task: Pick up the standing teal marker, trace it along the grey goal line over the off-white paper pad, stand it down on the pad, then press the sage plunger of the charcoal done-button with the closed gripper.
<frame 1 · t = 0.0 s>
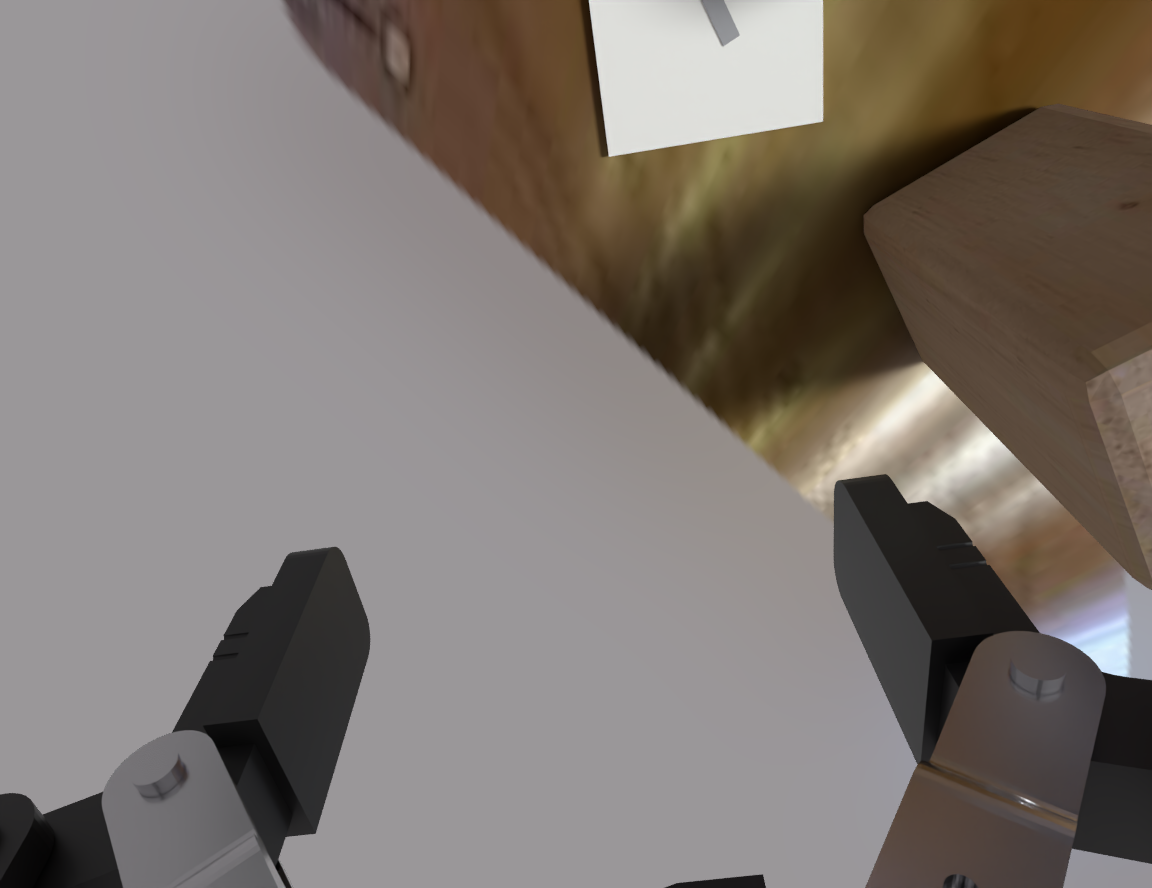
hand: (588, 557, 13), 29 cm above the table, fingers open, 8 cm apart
wooden block: (978, 239, 40), on the table
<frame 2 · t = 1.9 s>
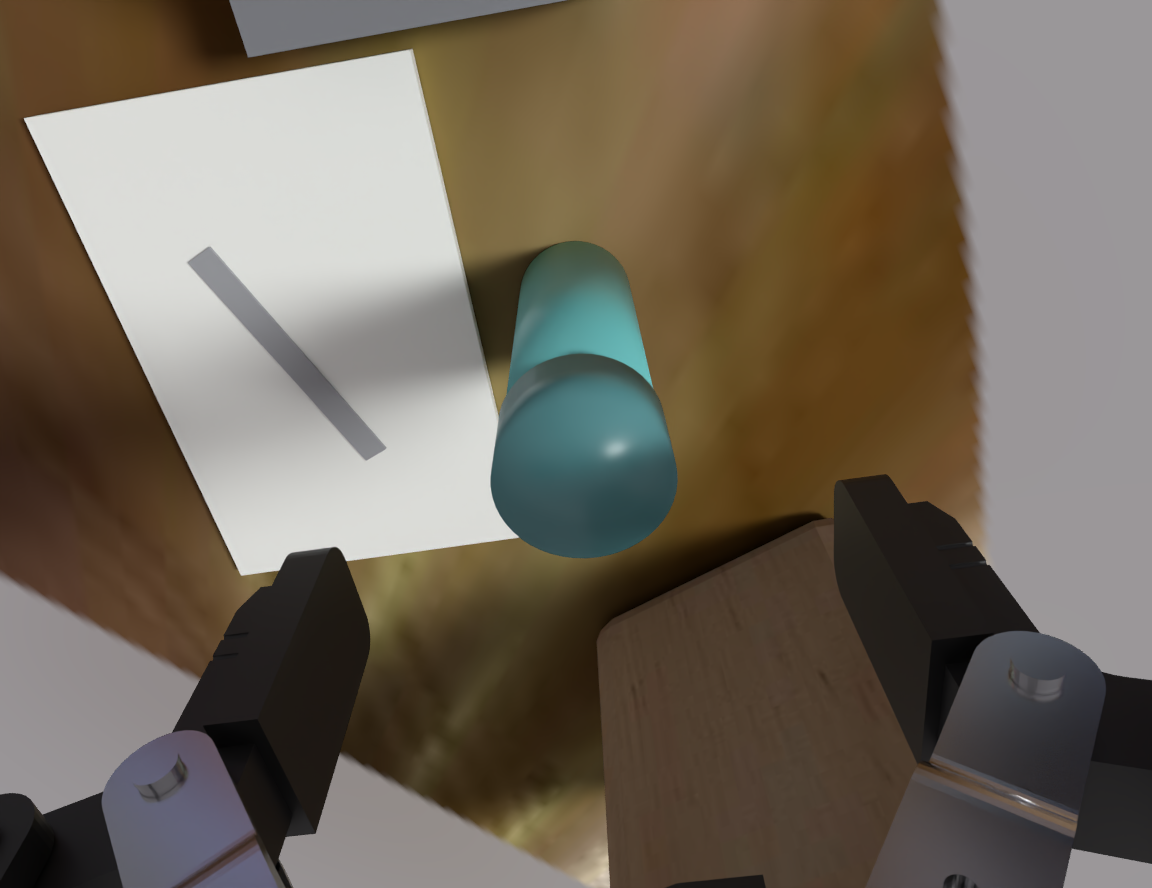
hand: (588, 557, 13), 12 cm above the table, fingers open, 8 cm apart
pad: (314, 352, 24), on the table
marker: (575, 295, 23), on the table
wooden block: (764, 643, 30), on the table
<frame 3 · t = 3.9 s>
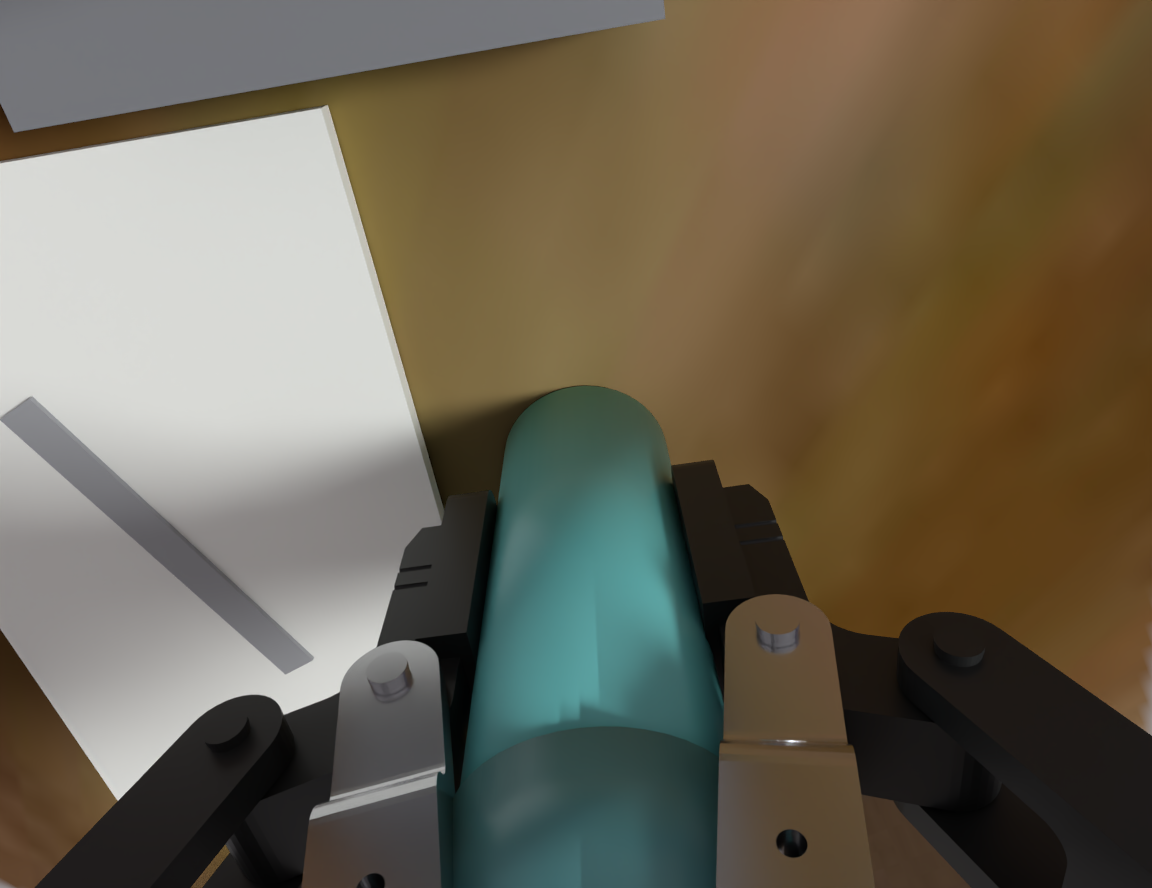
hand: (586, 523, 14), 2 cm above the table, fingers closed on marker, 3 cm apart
pad: (204, 533, 16), on the table
marker: (585, 459, 16), on the table, touching gripper
wooden block: (833, 874, 23), on the table
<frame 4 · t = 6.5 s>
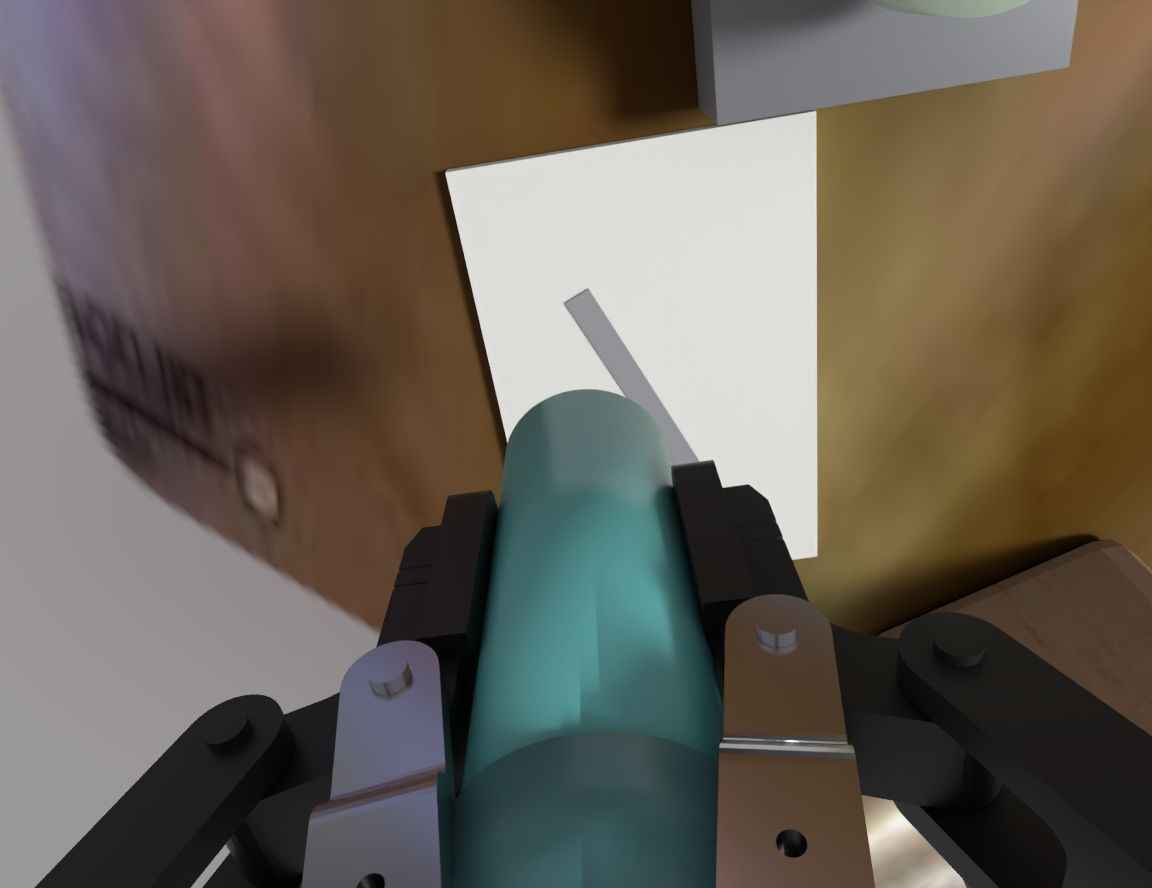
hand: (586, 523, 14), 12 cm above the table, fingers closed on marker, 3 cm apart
pad: (655, 385, 25), on the table
marker: (586, 462, 16), point 9 cm above the table, touching gripper
wooden block: (1013, 656, 32), on the table
when the fingers open (3 cm above the table, at t = 9.2 s): marker stays where it is, resting on pad.
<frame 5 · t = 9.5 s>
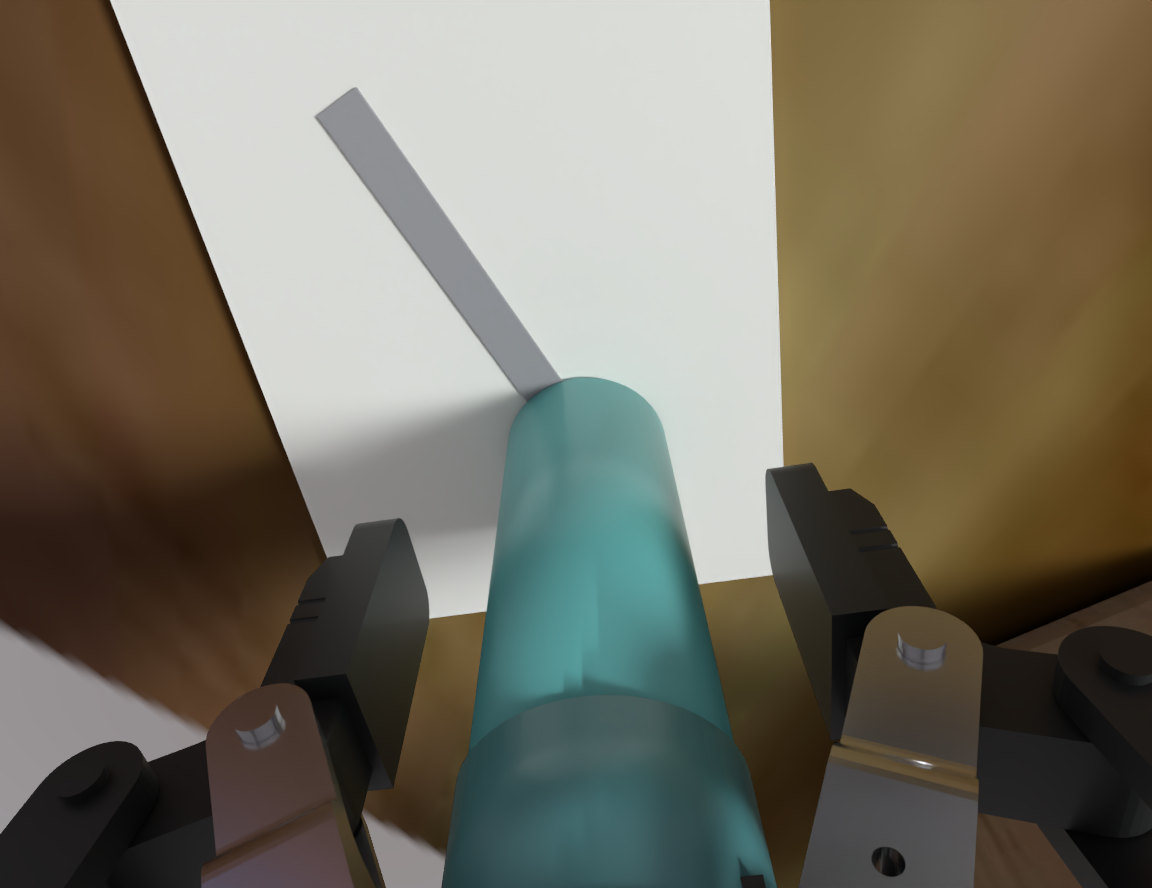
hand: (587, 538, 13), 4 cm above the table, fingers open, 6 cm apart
pad: (502, 280, 15), on the table
marker: (586, 449, 16), resting on pad
wooden block: (1087, 723, 21), on the table
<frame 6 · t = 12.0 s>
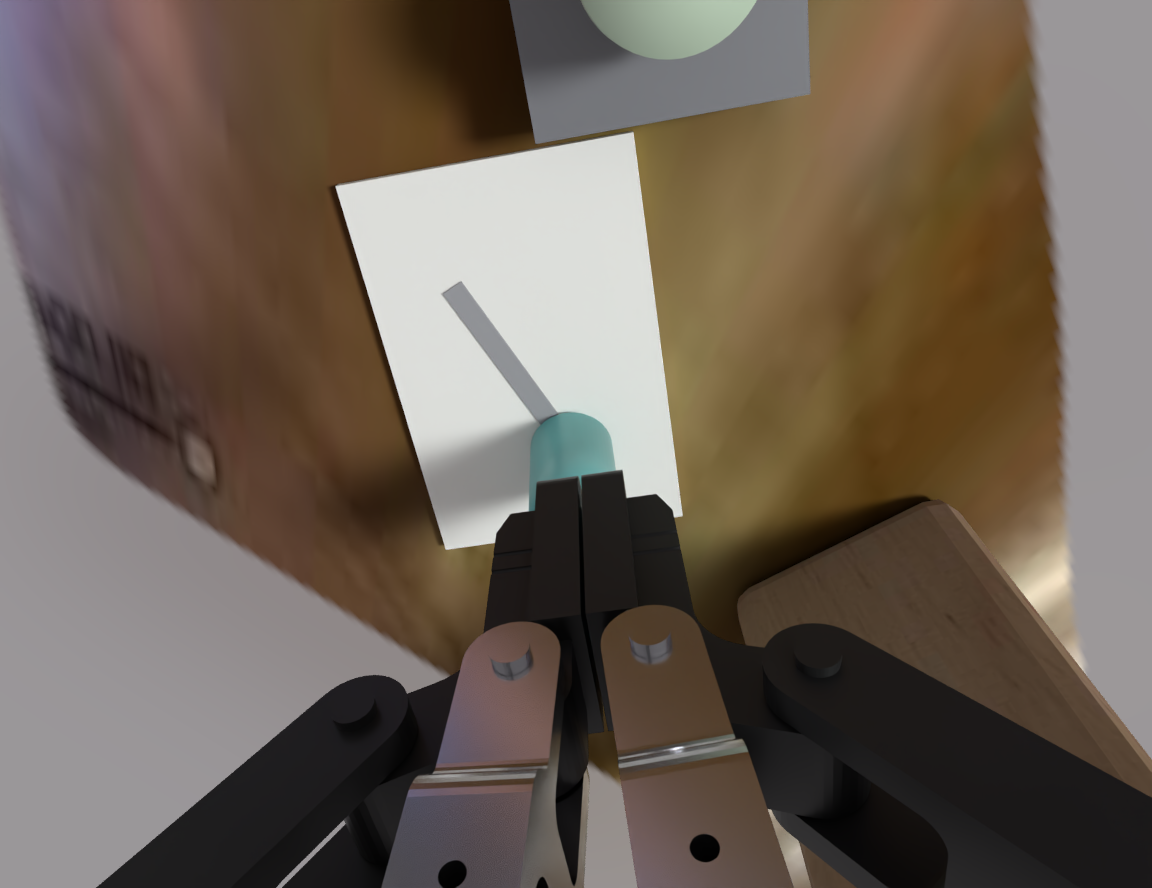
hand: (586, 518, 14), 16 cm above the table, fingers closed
pad: (527, 364, 30), on the table
marker: (571, 448, 31), resting on pad
wooden block: (873, 611, 36), on the table
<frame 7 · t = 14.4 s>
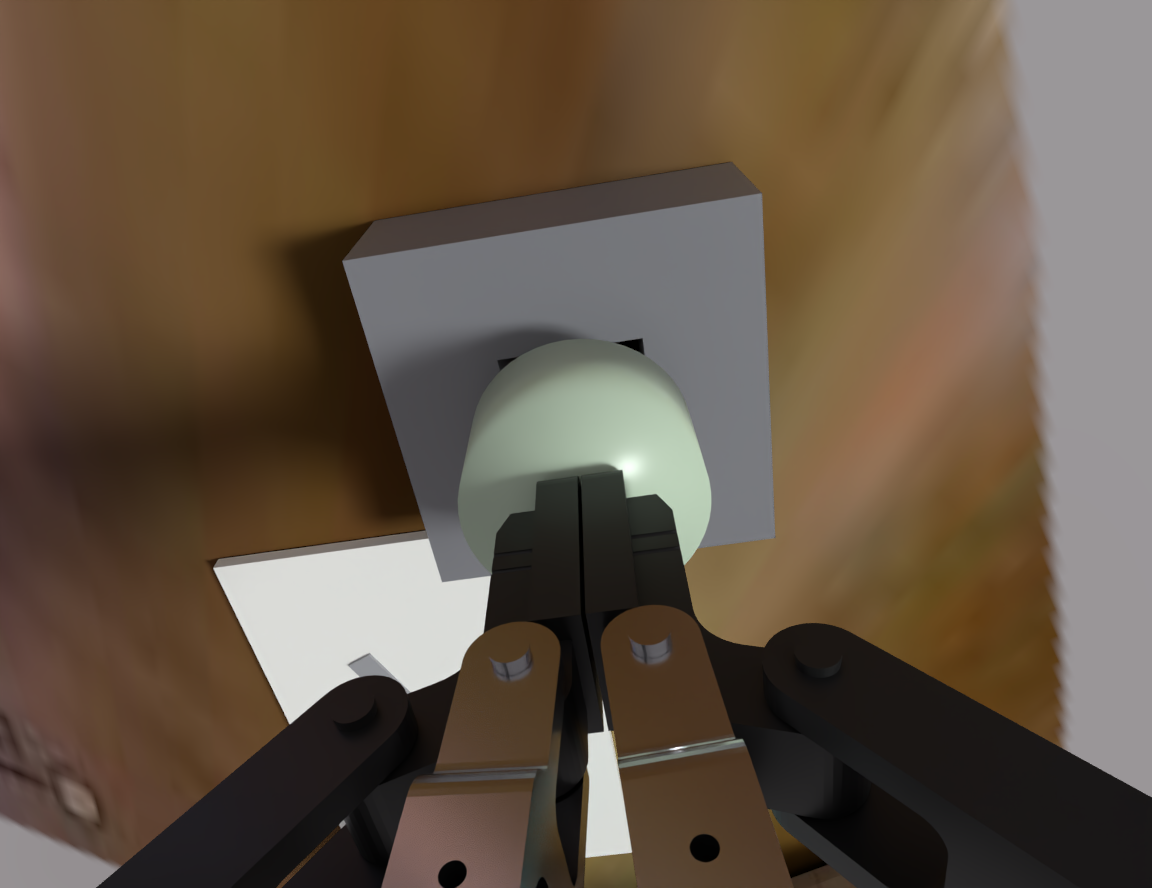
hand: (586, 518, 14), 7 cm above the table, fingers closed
button: (581, 431, 16), point 4 cm above the table, slide at 0.8 cm, touching gripper
button housing: (578, 356, 20), on the table
pad: (452, 719, 26), on the table
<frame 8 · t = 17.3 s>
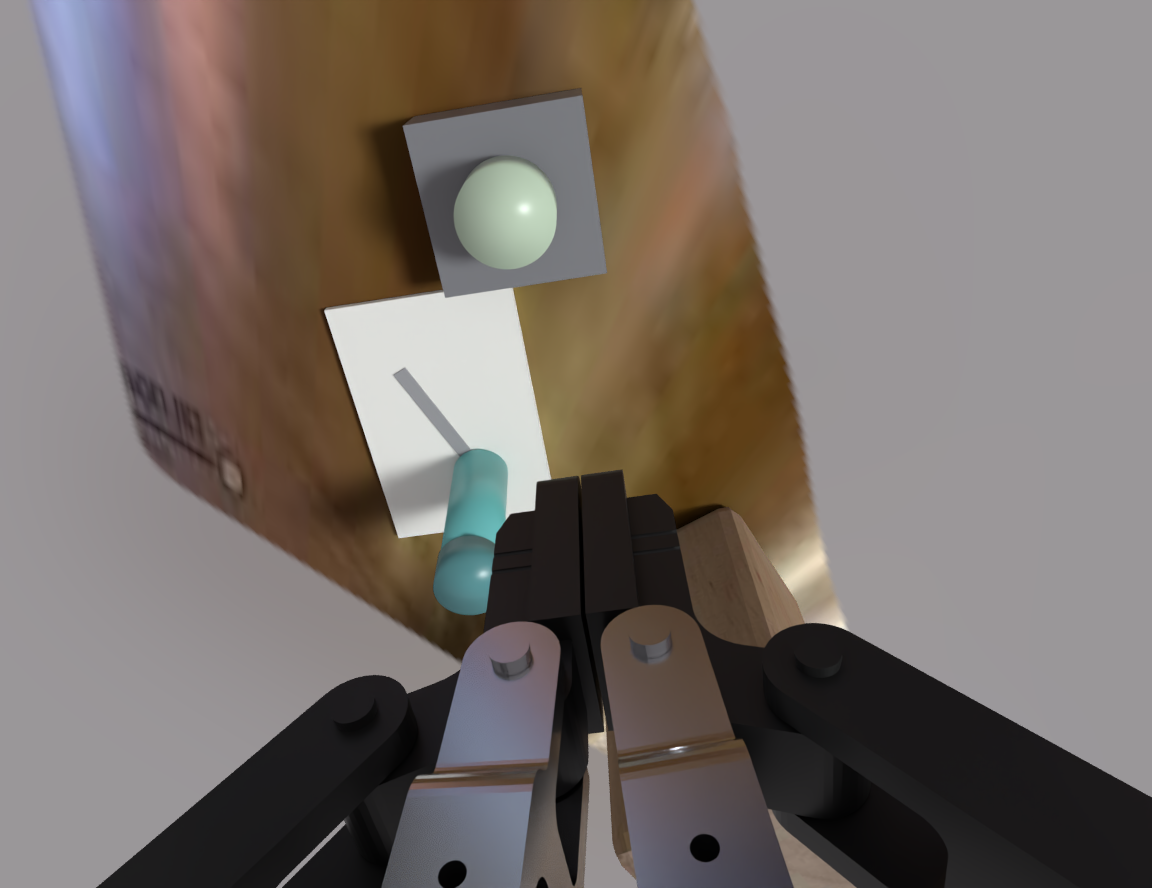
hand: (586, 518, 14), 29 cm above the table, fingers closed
button: (509, 204, 36), point 3 cm above the table, slide at 1.3 cm
button housing: (513, 188, 39), on the table
pad: (450, 417, 46), on the table
marker: (480, 472, 47), resting on pad
wooden block: (696, 581, 52), on the table
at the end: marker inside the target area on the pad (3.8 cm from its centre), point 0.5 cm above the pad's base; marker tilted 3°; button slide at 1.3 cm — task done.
